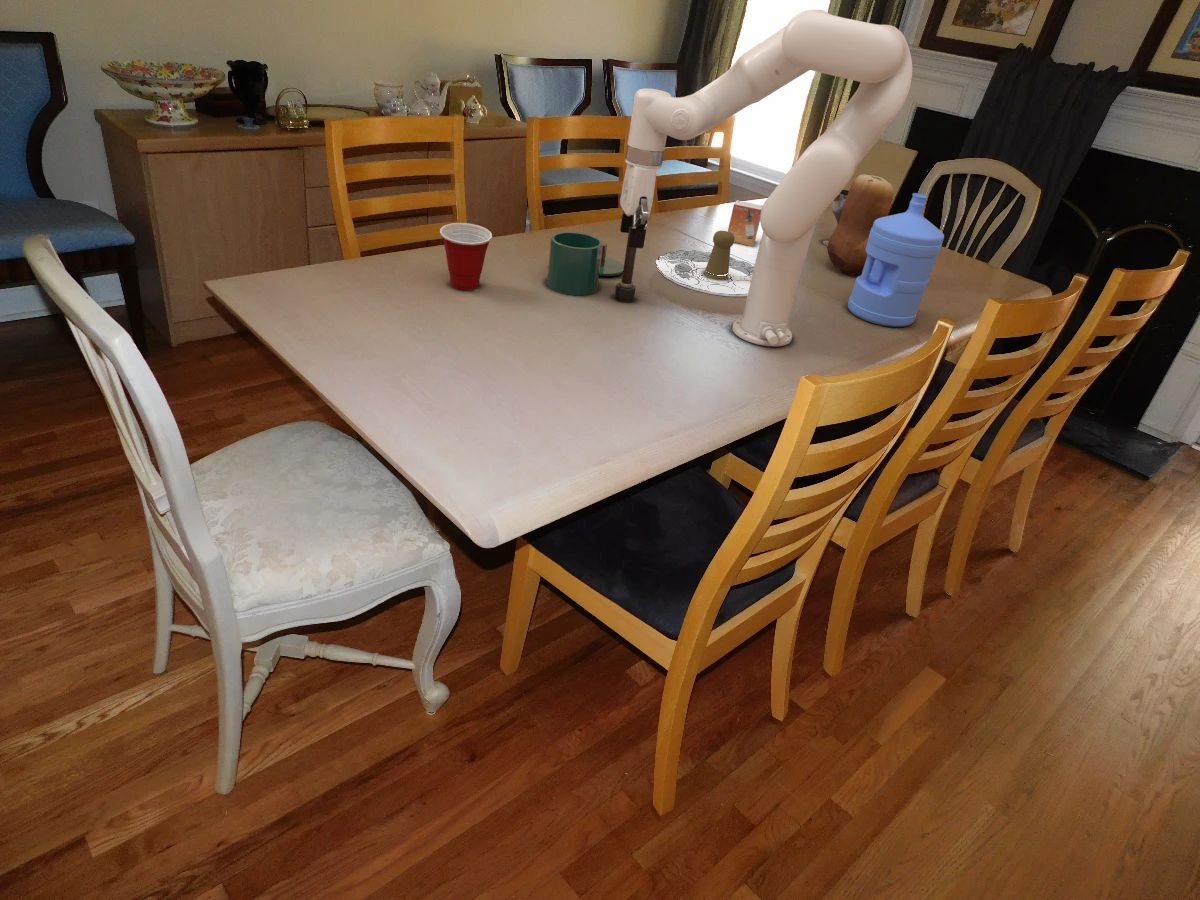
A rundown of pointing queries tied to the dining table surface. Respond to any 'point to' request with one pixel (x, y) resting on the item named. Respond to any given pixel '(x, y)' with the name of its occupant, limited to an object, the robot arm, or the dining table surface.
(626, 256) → the peg on round base
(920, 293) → the water jug
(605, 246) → the jar lid
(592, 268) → the jar
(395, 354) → the dining table surface
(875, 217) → the butternut squash
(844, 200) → the wine glass
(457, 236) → the plastic cup
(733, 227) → the small box
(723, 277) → the olive pawn
